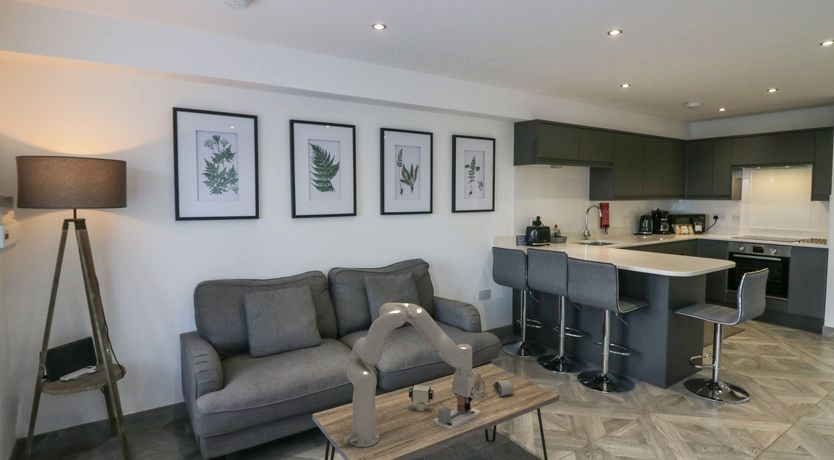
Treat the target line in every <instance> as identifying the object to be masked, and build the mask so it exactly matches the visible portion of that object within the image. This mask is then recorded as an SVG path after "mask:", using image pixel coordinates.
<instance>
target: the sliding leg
mask: <svg viewBox="0 0 834 460" xmlns="http://www.w3.org/2000/svg"><path fill="white" fill-rule="evenodd" d="M468 399H469V397H468ZM471 402H472V401H471ZM471 402H470V406H471ZM465 403H466V398H465V397H463V396H461V395H459V394H457V398H456V406H457V407H456V408H457V411H459V412H461V413H466V412H469V413H472V412H471V411H469V410H468V411H465Z"/></svg>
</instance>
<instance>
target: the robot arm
mask: <svg viewBox="0 0 834 460" xmlns="http://www.w3.org/2000/svg"><path fill="white" fill-rule="evenodd" d="M378 314H379V317H377V318H376V319H375V320H374V321H373V322H372V324H371V325H370V327H369V329H368V331H367V335H366V336H363V337H360V338H358V339H357V340H356V342H355V343H354V345H353V347H352V350H351V352H350V353H351V354H350V356H349V359H348V362H347V366H346V372H345V373H346V377H347V378H348V380H349V381H350V382H351V384H352V386H353V391H352V393H353V394H352V430H350V434H349V435H347V436H345V437H343V442H344V443H347V442H350V444H351V445H353V446H355V447H357V448H358V447H359V448H369V447H371V446H374V445H376V444H377V443H378V442H379V441H380V435H379V433H378V432H377V431H376V430H377V429H376V426H377V425H376V390H377V382H378V381H377V375H376V374H375V372H374V371H373V370H372V369H371V368H370V366H375V365H377V364H379V362H380V361H381V359H382V355H383V352H384V349H385V345H386V342H387V340H388V337H389V335H390V334H391V332H392V331H394V330H396V329H398V328H399V327H401V326H403V325H404V324H405V323H406V322H407V323H410V324H411V325H412V326H413V327H414V328H415V329H416V331H417V332H418V333H419V334H420V335H421V336H422V338H423V339H424V341H426V343H428V344H429V345H430V346H431V347H433V348H434V349H436V350H437V351H438V356H439V358H440V359H441V361H443V362H445V363H446V364H448V365H450V366H451V367H453V368H455V372H454V373H453V379H452V381H453V384H452V388H451V389H452V390H453V392H454V393H455V395H456V396H455V395H454V396H455V399H457V394H459V395H461V396H463V397H465V398H466V403H465V411H468V410H470V407H471V405H470V402H472V401H475V400H474V399H476V396H475V394H474V378H473V375H472V373H473V347H472V345H470V344H468V343H460V344H459V343H458V344H457V343H455V342H454V341H453V340H452V339H451V338H450V337H449V335H448V334H447V333H446V332H445V331H444V330H443V329H442V328H441V327H440V326H439V325H438V324H437V323H436V321H435V320H434V319H433V318H432V317H431V315H430V313H428V312H427V310H426V309H425V308H423V307H422V306H419V305H417V304H415V303H410V302H409V303H407V302H406V303H405V302H386V303H383V304H382V305H381V306H380V307H379V312H378ZM452 390H451V391H452ZM471 396H472V397H471ZM468 397H469V399H468Z"/></svg>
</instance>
